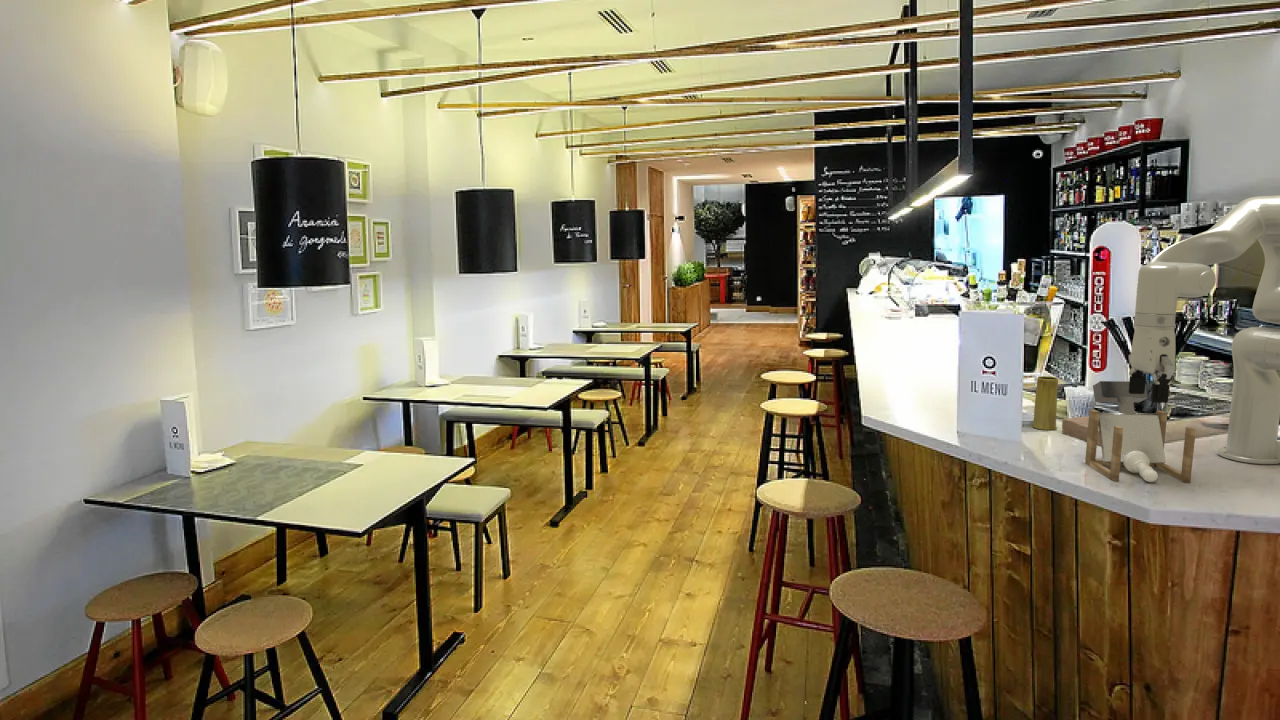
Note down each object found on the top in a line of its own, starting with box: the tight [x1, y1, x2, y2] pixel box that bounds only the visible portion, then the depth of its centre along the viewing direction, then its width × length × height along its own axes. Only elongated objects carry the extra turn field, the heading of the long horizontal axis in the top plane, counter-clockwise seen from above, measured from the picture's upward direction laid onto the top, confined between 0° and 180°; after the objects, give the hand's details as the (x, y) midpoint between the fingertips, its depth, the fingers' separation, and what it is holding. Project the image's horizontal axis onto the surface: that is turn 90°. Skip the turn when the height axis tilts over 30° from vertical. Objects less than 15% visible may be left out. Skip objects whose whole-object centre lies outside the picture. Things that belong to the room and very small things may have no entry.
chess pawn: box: [1123, 451, 1158, 483], centre depth 178 cm, size 5×5×9 cm
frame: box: [1084, 409, 1197, 484], centre depth 181 cm, size 16×14×13 cm
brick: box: [1061, 416, 1101, 447], centre depth 212 cm, size 17×8×5 cm, turn 11°
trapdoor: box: [1092, 380, 1166, 464], centre depth 187 cm, size 19×13×4 cm
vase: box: [1031, 375, 1059, 431], centre depth 224 cm, size 6×6×14 cm
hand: (1147, 397), depth 177 cm, fingers open, 9 cm apart
